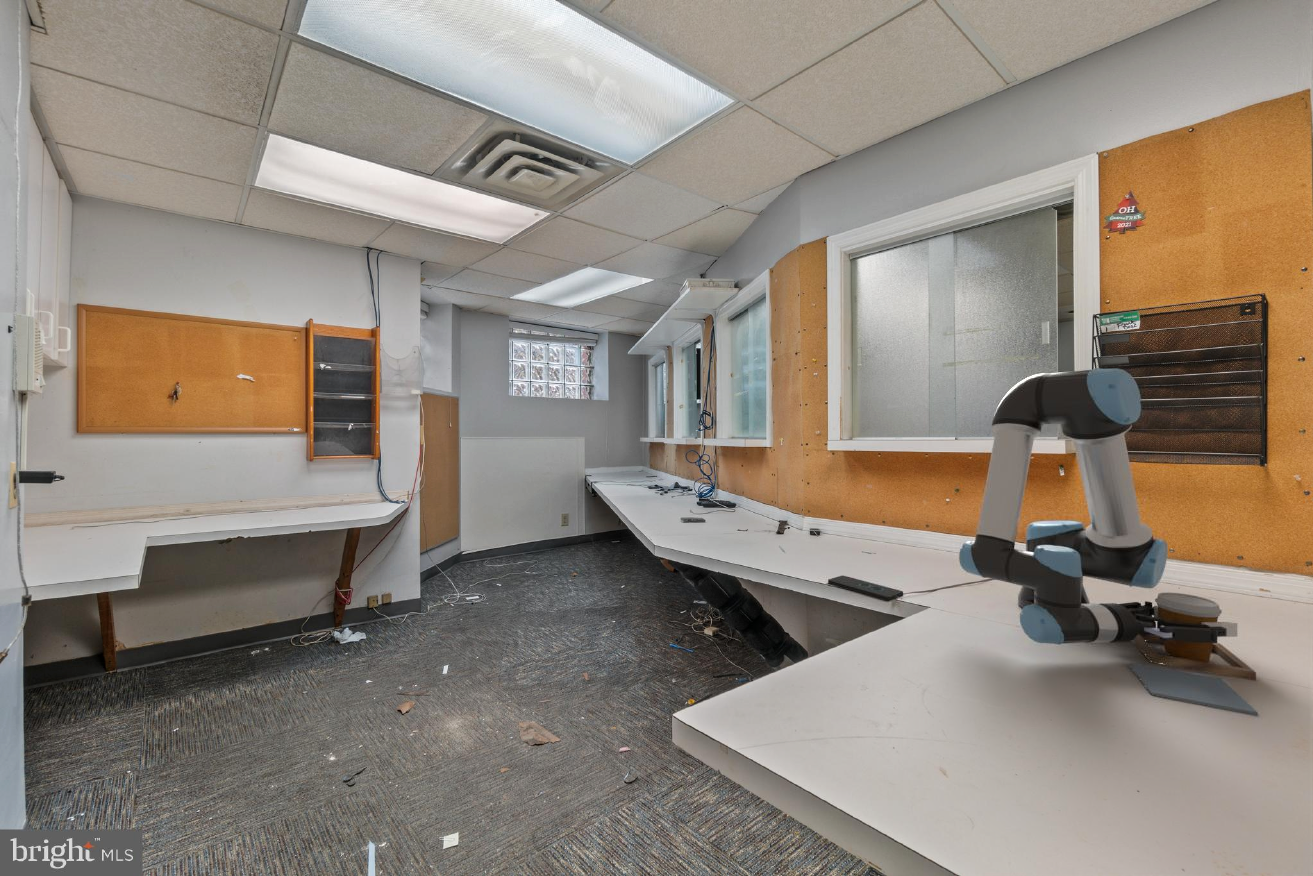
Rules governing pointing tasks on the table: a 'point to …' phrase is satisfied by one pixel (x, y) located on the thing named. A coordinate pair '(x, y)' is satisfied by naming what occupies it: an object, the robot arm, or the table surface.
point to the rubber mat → (1191, 688)
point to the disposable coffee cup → (1187, 612)
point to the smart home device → (866, 588)
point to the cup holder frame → (1234, 670)
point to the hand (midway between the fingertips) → (1208, 620)
